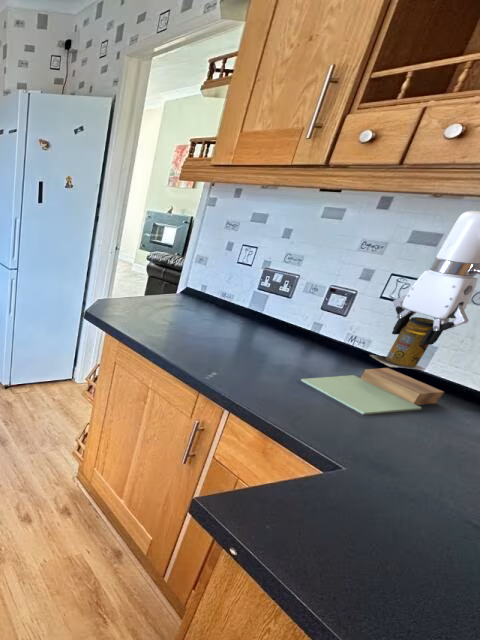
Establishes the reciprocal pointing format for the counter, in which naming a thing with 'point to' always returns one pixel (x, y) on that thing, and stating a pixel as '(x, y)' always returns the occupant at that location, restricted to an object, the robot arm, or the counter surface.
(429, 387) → the step
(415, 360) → the condiment
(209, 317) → the counter surface
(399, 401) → the mat
